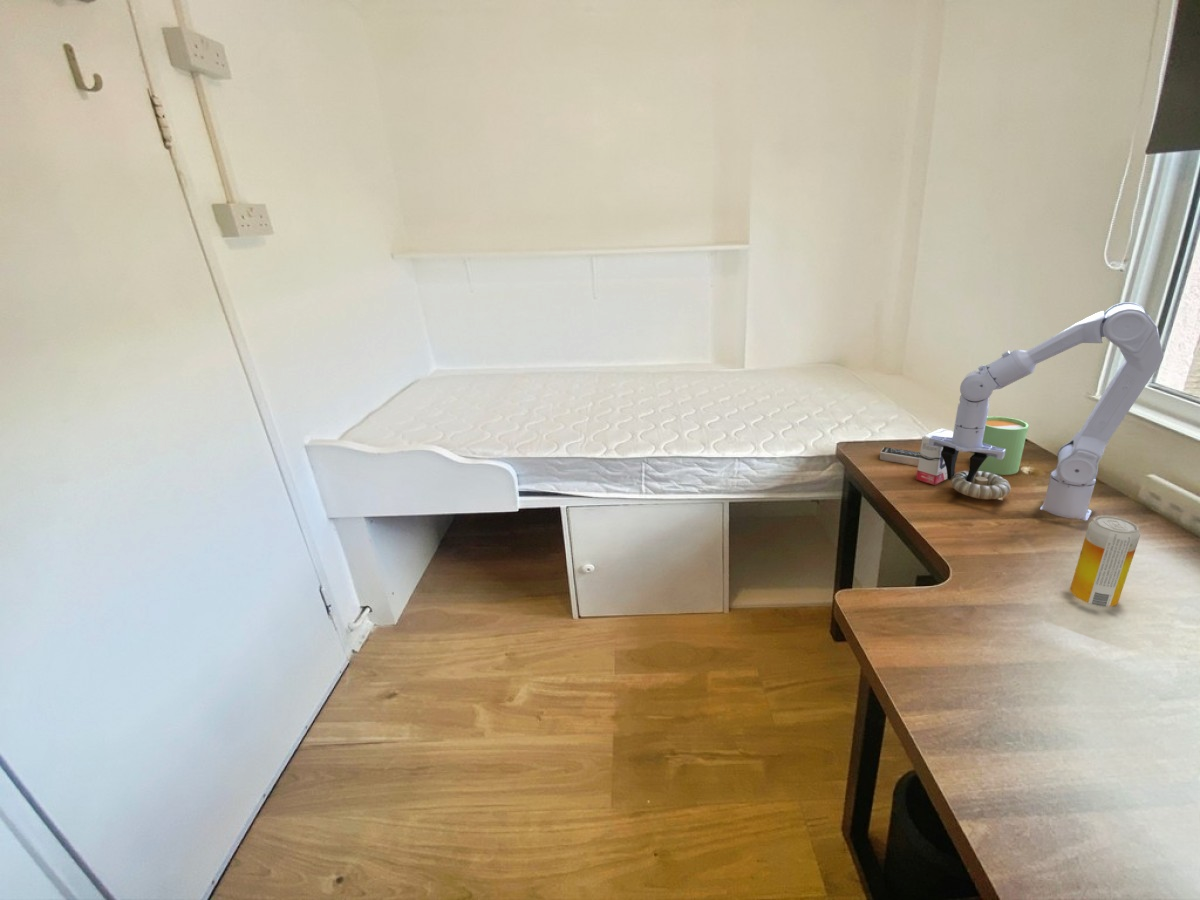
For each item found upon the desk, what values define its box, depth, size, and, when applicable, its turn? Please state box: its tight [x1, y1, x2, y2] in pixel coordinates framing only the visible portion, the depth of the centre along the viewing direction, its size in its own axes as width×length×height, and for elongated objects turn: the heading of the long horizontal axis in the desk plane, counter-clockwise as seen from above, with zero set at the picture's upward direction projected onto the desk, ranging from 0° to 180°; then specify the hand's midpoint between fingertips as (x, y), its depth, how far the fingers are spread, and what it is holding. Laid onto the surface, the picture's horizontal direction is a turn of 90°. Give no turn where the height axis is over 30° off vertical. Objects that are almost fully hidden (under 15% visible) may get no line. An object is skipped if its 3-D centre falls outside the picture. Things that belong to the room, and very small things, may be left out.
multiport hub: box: [879, 446, 920, 467], centre depth 149 cm, size 4×11×2 cm, turn 52°
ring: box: [950, 470, 1012, 500], centre depth 125 cm, size 11×11×3 cm
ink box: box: [915, 428, 954, 486], centre depth 137 cm, size 8×5×12 cm, turn 122°
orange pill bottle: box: [1069, 515, 1141, 607], centre depth 90 cm, size 6×6×15 cm
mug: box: [972, 416, 1030, 476], centre depth 141 cm, size 13×10×12 cm
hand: (959, 480), depth 128 cm, fingers closed on ring, 3 cm apart
